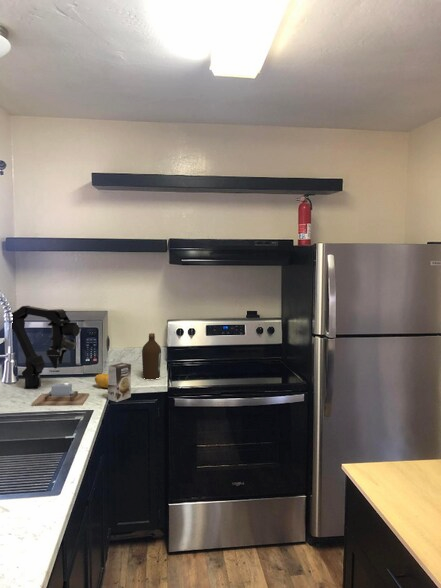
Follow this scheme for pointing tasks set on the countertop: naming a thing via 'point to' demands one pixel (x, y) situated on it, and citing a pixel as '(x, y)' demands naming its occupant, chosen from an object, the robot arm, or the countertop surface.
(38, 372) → the robot arm
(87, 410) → the countertop surface
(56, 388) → the block
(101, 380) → the potato
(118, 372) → the coffee box
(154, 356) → the olive oil
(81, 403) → the brown wooden board
